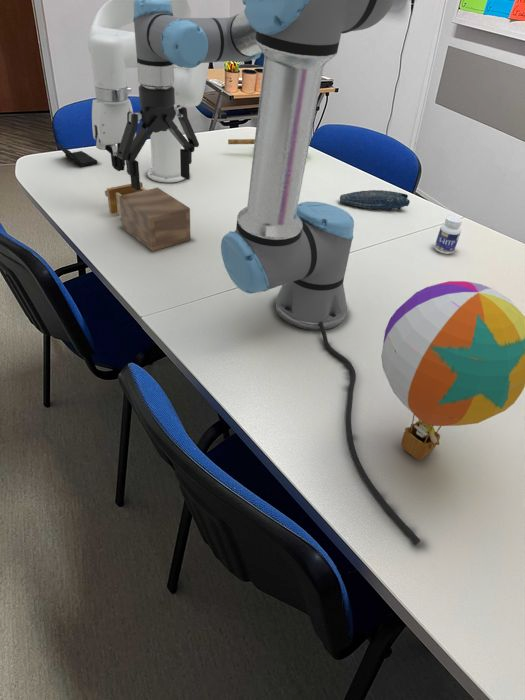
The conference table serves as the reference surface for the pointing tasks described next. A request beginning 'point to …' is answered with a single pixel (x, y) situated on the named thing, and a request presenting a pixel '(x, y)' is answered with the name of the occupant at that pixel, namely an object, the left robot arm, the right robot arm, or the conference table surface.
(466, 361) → the toy
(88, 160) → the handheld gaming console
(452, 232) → the pill bottle
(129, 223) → the wooden grain block
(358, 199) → the fish model
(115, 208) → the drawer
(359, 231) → the conference table surface
